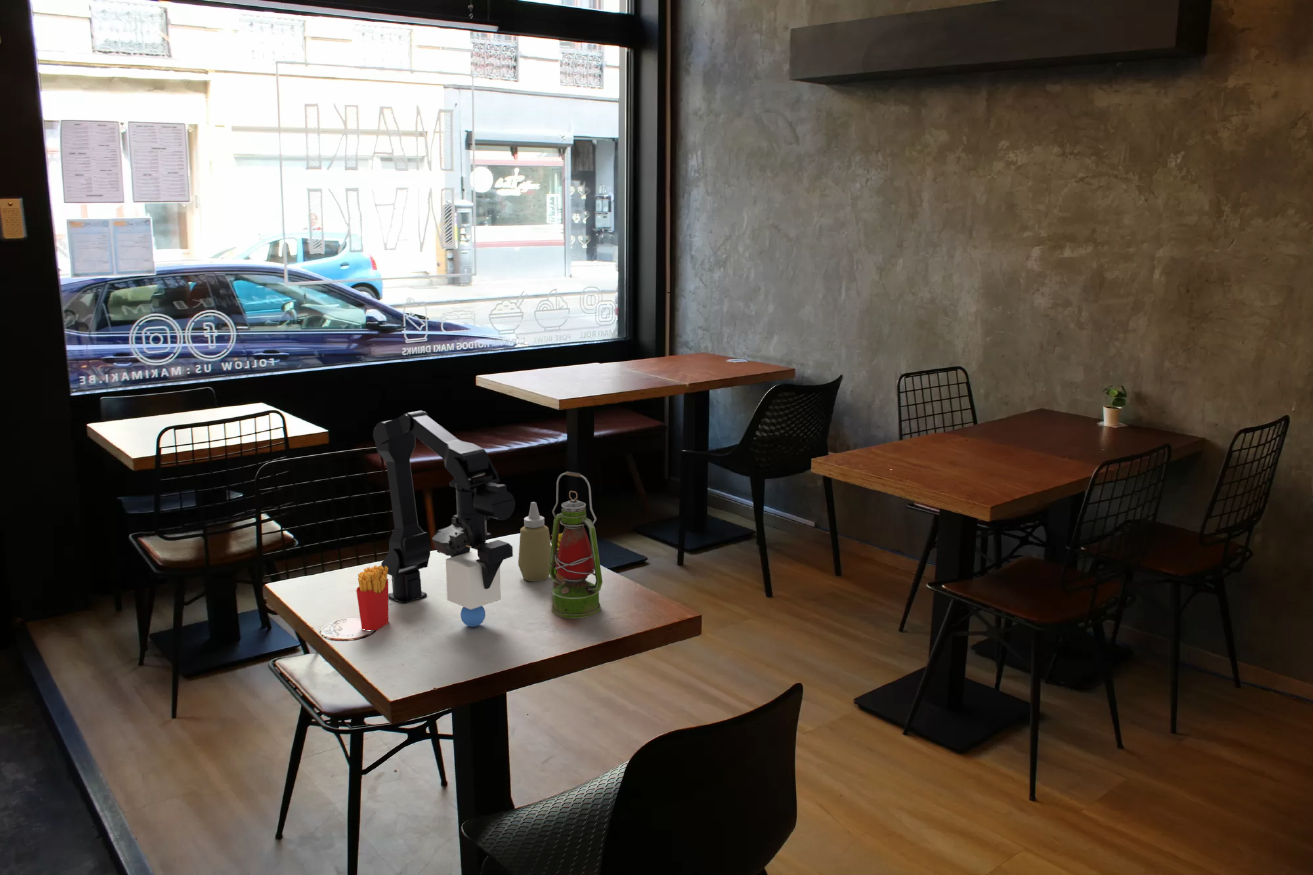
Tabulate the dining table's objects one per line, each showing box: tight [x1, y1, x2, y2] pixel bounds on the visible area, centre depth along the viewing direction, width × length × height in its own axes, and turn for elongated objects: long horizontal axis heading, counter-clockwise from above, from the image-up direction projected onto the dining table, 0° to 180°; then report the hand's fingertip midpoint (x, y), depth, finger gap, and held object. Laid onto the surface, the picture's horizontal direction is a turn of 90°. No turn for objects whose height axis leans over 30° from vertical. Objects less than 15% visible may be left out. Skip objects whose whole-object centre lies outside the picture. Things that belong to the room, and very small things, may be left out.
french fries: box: [355, 564, 390, 631], centre depth 216 cm, size 8×4×12 cm, turn 158°
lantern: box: [549, 471, 603, 619], centre depth 222 cm, size 14×11×30 cm
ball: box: [460, 605, 486, 628], centre depth 216 cm, size 5×5×5 cm
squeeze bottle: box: [517, 501, 552, 582], centre depth 242 cm, size 8×8×18 cm
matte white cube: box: [445, 549, 502, 610], centre depth 215 cm, size 8×8×9 cm
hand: (474, 583), depth 215 cm, fingers closed on matte white cube, 8 cm apart
